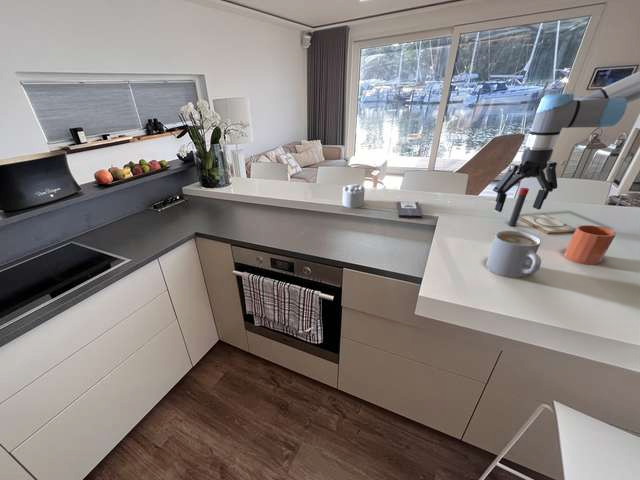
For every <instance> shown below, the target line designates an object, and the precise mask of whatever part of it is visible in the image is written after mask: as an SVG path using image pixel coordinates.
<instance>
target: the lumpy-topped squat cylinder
mask: <svg viewBox="0 0 640 480" xmlns="http://www.w3.org/2000/svg"><path fill="white" fill-rule="evenodd" d="M365 191H366V189H365V187H364V186H363V185H360V184H357V183H356V184H355V183H354V184H348V185H345V186H344V187H342V206H344V207H346V208H350V209H357V208H360V207H362V206H364V204H365Z"/></svg>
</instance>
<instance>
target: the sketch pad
mask: <svg viewBox="0 0 640 480" xmlns="http://www.w3.org/2000/svg"><path fill="white" fill-rule="evenodd" d="M518 220H520V221H522V222H523V223H526V224H527V225H529V226H531V227H533V228H535V229H536V230H539V231H540V232H542V233H544V234H546V235H552V234H567V233H568V234H569V233H575V230H576V228H577V227H573V226H571V225H569V224H567V223H565V222H563V221H562V220H559V219H556V218H553V217H551V216H549V215H548V214H544V213H543V214H527V215H526V214H525V215H519V218H518Z"/></svg>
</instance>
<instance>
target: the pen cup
mask: <svg viewBox="0 0 640 480" xmlns="http://www.w3.org/2000/svg"><path fill="white" fill-rule="evenodd" d="M575 228H576V230H575V232H573V235H572V237H571V239H570V241H569V243H568V245H567V247H566V250H565V251H564V254H563V256H564V257H565V258H566V259H567V260H569V261H571V262H575V263H578V264H582V265H588V266H589V265H592V266H593V265H594V266H595V265H598V264H600V263H601V262H602V260H603V258H604V257H605V255H606V253H607V251H608V249H609V248H610V246H611V244H612V242H613V240H614V239H615V237H616V234H617V233H616V232H615V231H614V230H613V229H609V228H608V227H604V226H599V225H594V224H593V225H591V224H583V225H578V226H576V227H575Z"/></svg>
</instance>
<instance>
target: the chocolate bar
mask: <svg viewBox="0 0 640 480" xmlns="http://www.w3.org/2000/svg"><path fill="white" fill-rule="evenodd" d="M396 203H397V205H396V206H397V213H398V214H397V215H398V218H411V219H412V218H415V219H416V218H418V219H422V218H423V214H422V211H421V207H420V205H419V201H397V202H396Z"/></svg>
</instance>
